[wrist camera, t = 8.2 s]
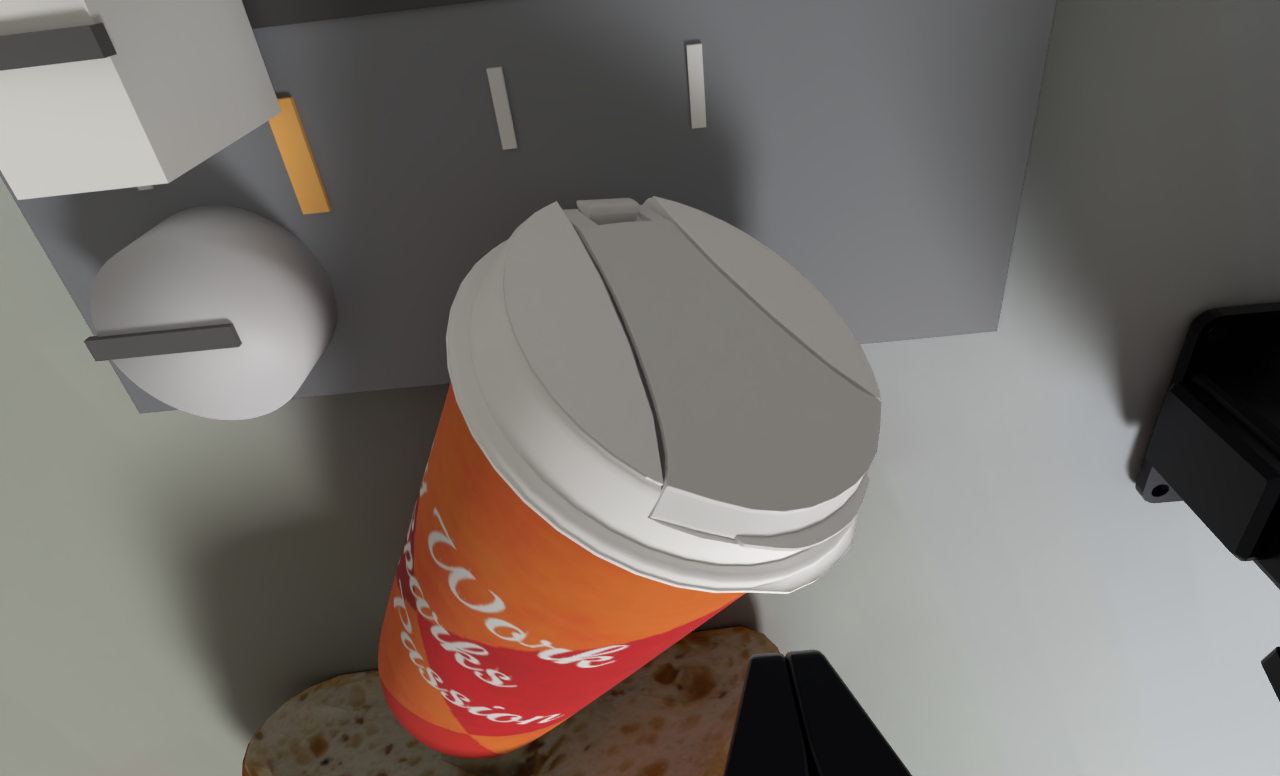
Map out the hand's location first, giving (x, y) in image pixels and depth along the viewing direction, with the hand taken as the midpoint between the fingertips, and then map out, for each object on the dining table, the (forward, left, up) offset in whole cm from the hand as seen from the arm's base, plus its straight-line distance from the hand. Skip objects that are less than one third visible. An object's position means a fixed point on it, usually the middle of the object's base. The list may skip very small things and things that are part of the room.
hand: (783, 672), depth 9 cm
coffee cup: (+8, +11, -9) cm, 16 cm away
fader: (+10, -7, -10) cm, 16 cm away
